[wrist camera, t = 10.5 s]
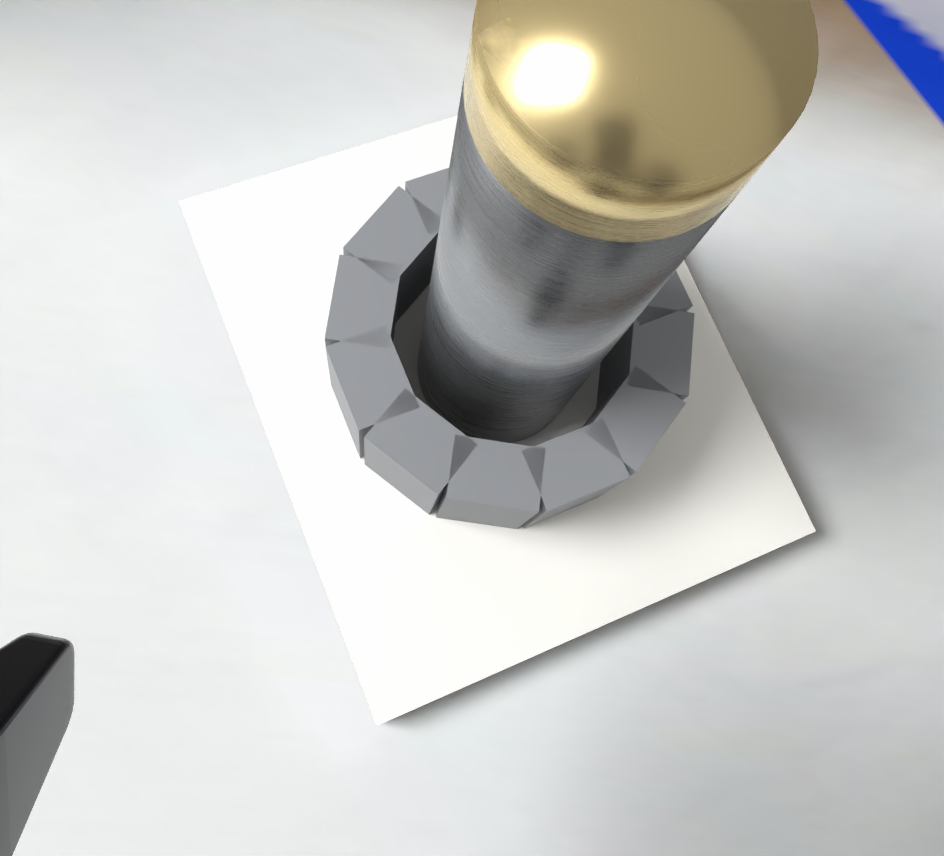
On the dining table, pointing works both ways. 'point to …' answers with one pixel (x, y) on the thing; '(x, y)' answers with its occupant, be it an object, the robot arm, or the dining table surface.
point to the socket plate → (443, 569)
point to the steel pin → (591, 183)
